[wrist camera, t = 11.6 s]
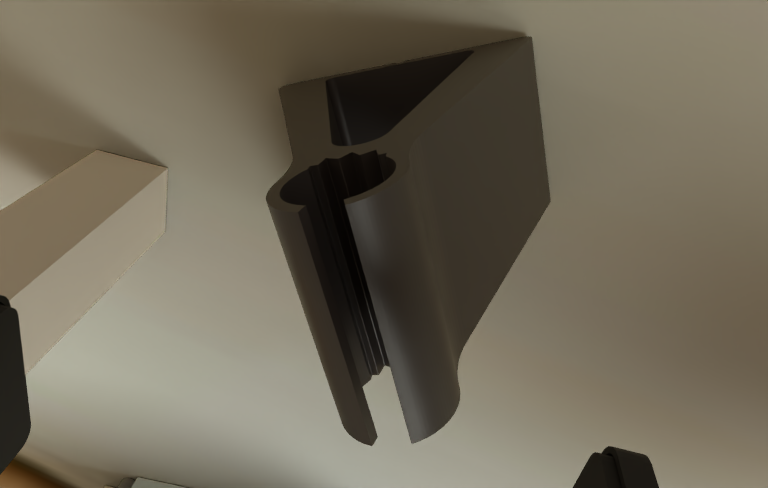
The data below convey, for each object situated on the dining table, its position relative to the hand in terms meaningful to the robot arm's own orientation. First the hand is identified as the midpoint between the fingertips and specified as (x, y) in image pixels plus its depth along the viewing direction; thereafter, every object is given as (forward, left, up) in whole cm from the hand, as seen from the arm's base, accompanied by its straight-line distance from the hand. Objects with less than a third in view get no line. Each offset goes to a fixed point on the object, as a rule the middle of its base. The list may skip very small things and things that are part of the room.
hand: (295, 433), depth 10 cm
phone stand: (-1, 0, -15) cm, 15 cm away
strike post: (+10, +5, -15) cm, 19 cm away
